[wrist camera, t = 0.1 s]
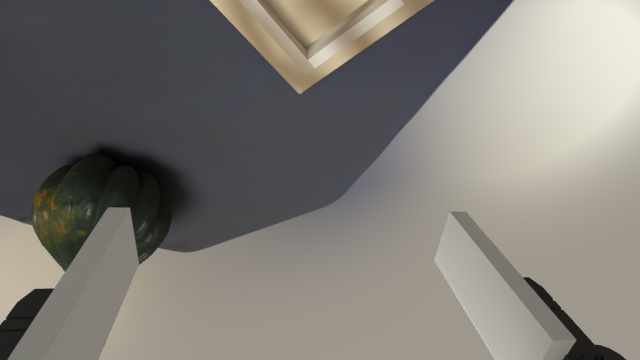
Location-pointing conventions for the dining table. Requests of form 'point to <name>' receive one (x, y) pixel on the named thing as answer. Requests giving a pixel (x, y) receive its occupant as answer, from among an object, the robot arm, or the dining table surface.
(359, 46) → the tray
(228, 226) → the dining table surface
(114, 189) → the squash
